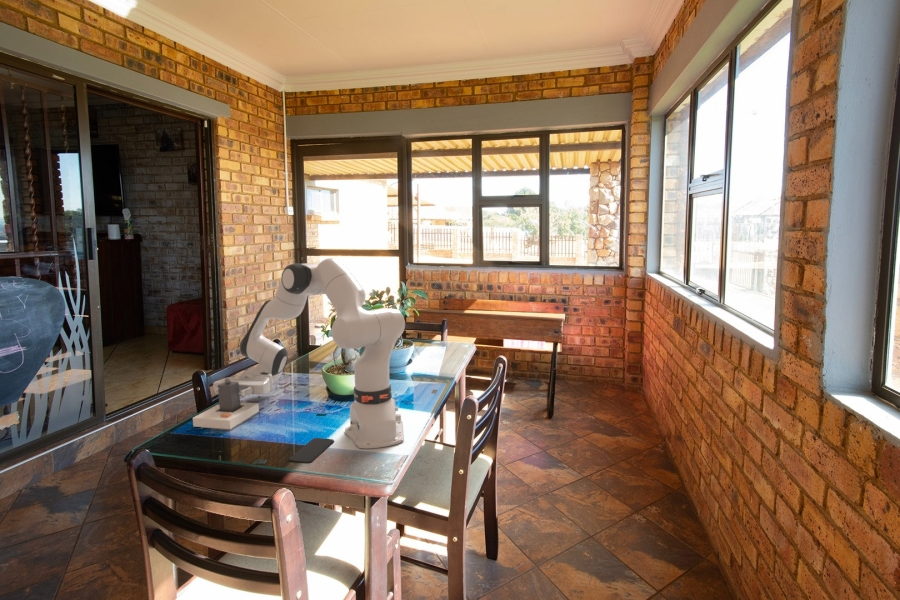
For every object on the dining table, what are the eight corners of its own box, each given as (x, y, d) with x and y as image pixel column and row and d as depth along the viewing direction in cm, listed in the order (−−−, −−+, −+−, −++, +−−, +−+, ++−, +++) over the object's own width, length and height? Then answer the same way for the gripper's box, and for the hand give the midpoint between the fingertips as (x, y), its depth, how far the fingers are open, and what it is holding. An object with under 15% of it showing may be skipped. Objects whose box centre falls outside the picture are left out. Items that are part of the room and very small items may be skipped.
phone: (287, 459, 142) (313, 437, 156) (287, 462, 142) (314, 439, 156) (310, 462, 140) (335, 439, 154) (310, 465, 140) (335, 442, 154)
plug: (228, 413, 178) (225, 376, 176) (241, 414, 177) (237, 376, 175) (220, 418, 173) (217, 380, 171) (233, 419, 172) (229, 380, 170)
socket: (224, 410, 182) (223, 399, 182) (258, 412, 179) (258, 401, 179) (193, 427, 167) (192, 415, 166) (230, 430, 164) (229, 418, 163)
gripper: (226, 371, 189) (201, 383, 175) (275, 374, 184) (253, 385, 171) (228, 387, 190) (203, 400, 176) (276, 390, 185) (254, 403, 172)
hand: (228, 393), depth 174 cm, fingers open, 8 cm apart
